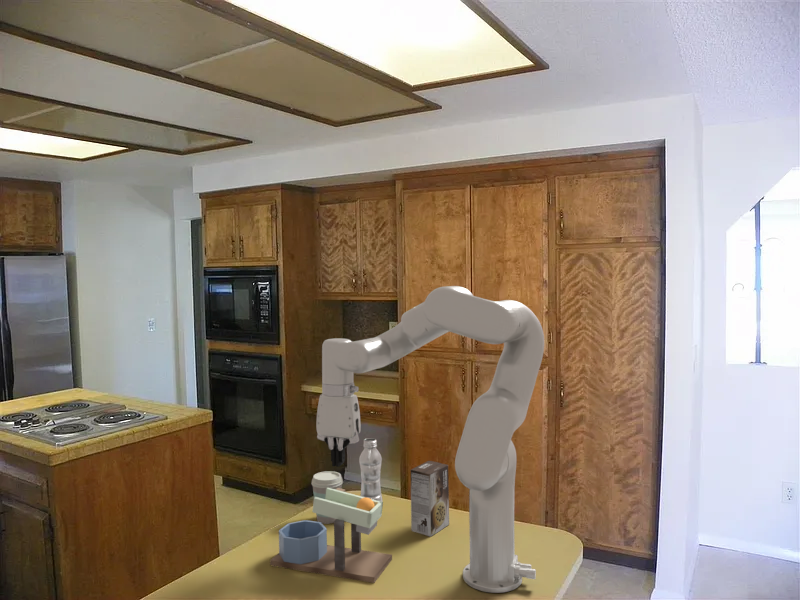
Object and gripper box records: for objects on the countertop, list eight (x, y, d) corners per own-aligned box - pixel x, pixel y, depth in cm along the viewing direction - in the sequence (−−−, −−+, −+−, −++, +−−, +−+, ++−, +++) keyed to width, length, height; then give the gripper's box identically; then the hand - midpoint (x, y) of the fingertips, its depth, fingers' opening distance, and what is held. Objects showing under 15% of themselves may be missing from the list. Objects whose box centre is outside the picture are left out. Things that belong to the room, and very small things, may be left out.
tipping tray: (389, 514, 140) (392, 493, 139) (368, 537, 128) (371, 513, 127) (336, 500, 144) (338, 479, 144) (311, 520, 132) (313, 497, 132)
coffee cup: (338, 527, 154) (337, 481, 154) (307, 524, 156) (306, 480, 156) (347, 514, 163) (346, 471, 162) (318, 512, 164) (317, 469, 164)
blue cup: (332, 546, 140) (332, 523, 140) (312, 566, 131) (312, 541, 130) (294, 540, 144) (294, 518, 143) (272, 559, 134) (271, 535, 134)
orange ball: (375, 514, 133) (378, 497, 132) (369, 521, 129) (371, 504, 129) (359, 509, 134) (362, 492, 134) (352, 516, 130) (355, 499, 130)
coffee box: (429, 519, 158) (428, 459, 158) (450, 524, 155) (449, 464, 154) (410, 531, 151) (409, 469, 151) (431, 537, 147) (430, 473, 147)
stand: (392, 559, 136) (391, 508, 135) (374, 582, 125) (373, 527, 125) (294, 544, 144) (293, 496, 144) (270, 565, 134) (269, 513, 133)
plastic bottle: (357, 515, 162) (355, 443, 161) (362, 505, 169) (361, 436, 168) (380, 516, 161) (379, 443, 160) (384, 506, 168) (383, 437, 167)
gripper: (372, 389, 143) (372, 463, 144) (317, 385, 148) (317, 457, 149) (360, 394, 136) (360, 473, 137) (302, 390, 141) (303, 466, 142)
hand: (337, 464), depth 143 cm, fingers closed
